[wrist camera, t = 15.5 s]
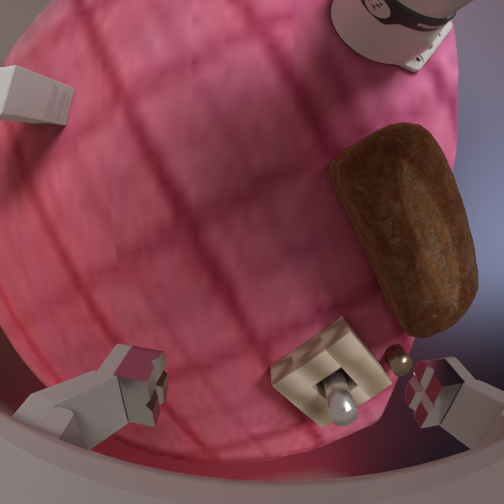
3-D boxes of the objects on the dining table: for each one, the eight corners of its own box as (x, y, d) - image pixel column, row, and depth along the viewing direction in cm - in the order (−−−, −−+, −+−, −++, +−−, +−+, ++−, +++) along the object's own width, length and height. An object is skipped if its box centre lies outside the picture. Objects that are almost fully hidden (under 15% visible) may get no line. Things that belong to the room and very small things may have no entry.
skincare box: (32, 124, 37) (-34, 119, 22) (41, 86, 35) (-22, 70, 20) (68, 126, 37) (-1, 117, 22) (78, 85, 36) (13, 63, 20)
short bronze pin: (397, 340, 46) (408, 354, 41) (405, 352, 46) (416, 366, 42) (381, 353, 46) (390, 368, 42) (389, 364, 47) (398, 379, 43)
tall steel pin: (332, 355, 46) (350, 404, 35) (343, 367, 47) (362, 416, 35) (314, 367, 47) (327, 418, 35) (326, 379, 48) (340, 429, 36)
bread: (391, 118, 37) (436, 104, 25) (453, 280, 43) (496, 309, 31) (310, 160, 39) (331, 157, 27) (387, 323, 45) (419, 365, 33)
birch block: (341, 315, 44) (350, 331, 40) (382, 366, 47) (392, 383, 42) (270, 366, 47) (271, 385, 42) (318, 408, 50) (322, 427, 45)
